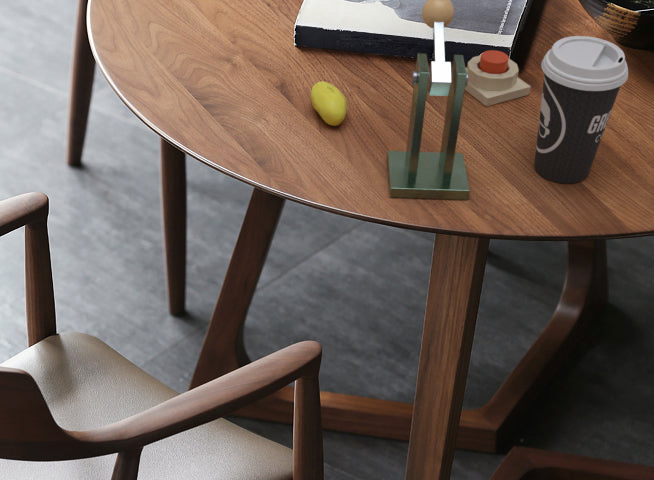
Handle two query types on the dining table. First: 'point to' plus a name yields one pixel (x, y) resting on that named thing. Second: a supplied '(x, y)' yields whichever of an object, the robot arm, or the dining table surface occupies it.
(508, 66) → the button box
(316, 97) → the lemon
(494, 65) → the button
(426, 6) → the lever
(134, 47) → the dining table surface
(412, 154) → the bracket
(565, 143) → the coffee cup
